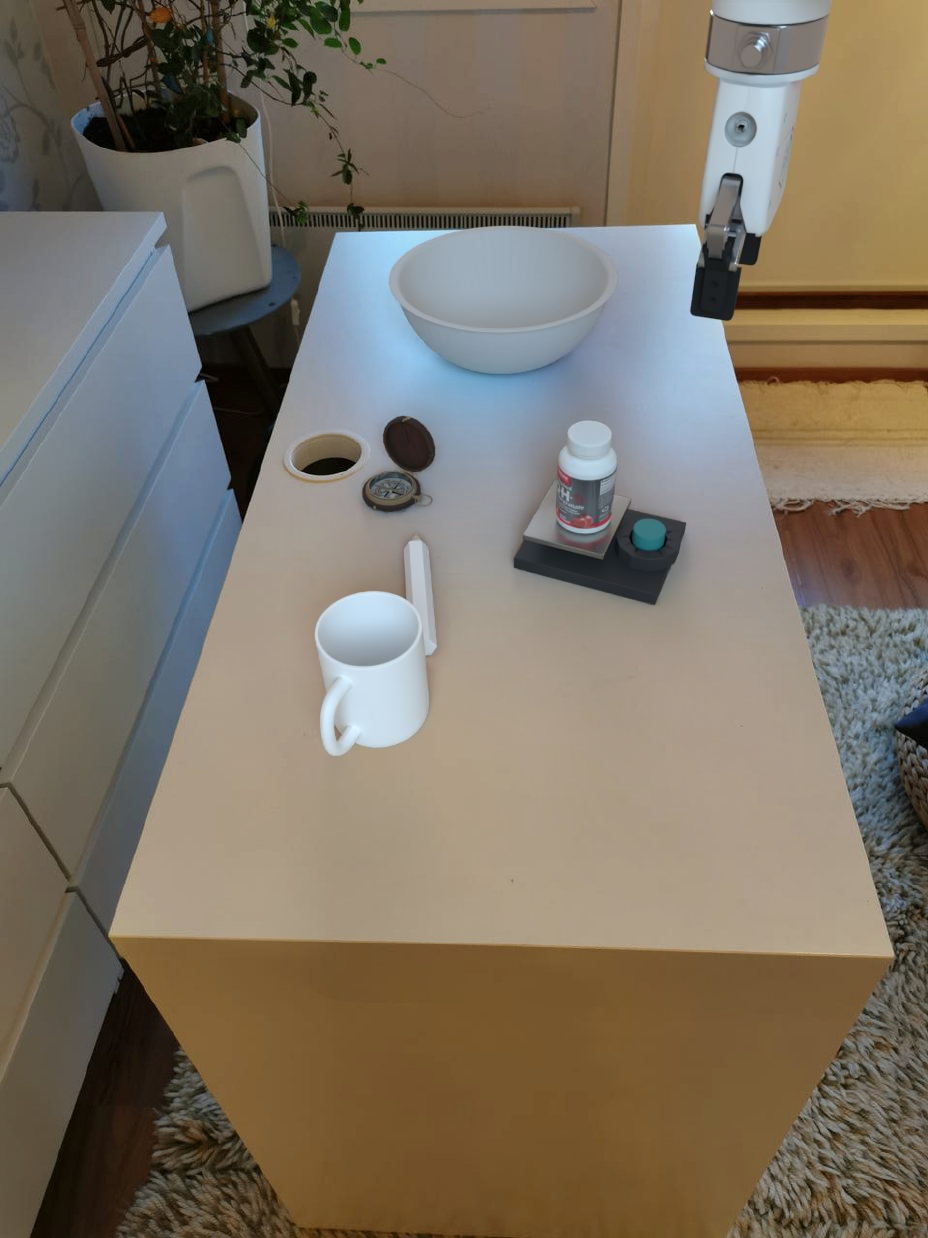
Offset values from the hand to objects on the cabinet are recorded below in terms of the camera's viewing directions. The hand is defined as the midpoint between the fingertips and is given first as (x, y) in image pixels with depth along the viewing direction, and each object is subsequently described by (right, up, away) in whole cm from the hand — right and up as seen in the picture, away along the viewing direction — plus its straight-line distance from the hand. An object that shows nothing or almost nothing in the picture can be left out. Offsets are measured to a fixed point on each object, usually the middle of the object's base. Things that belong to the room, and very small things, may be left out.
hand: (724, 288), depth 75 cm
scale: (-7, -19, +18) cm, 28 cm away
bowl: (-16, +8, +45) cm, 49 cm away
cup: (-28, -35, +4) cm, 45 cm away
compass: (-27, -13, +25) cm, 39 cm away
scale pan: (-10, -17, +17) cm, 26 cm away
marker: (-25, -24, +15) cm, 37 cm away
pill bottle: (-9, -17, +16) cm, 25 cm away
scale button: (-3, -19, +15) cm, 24 cm away
